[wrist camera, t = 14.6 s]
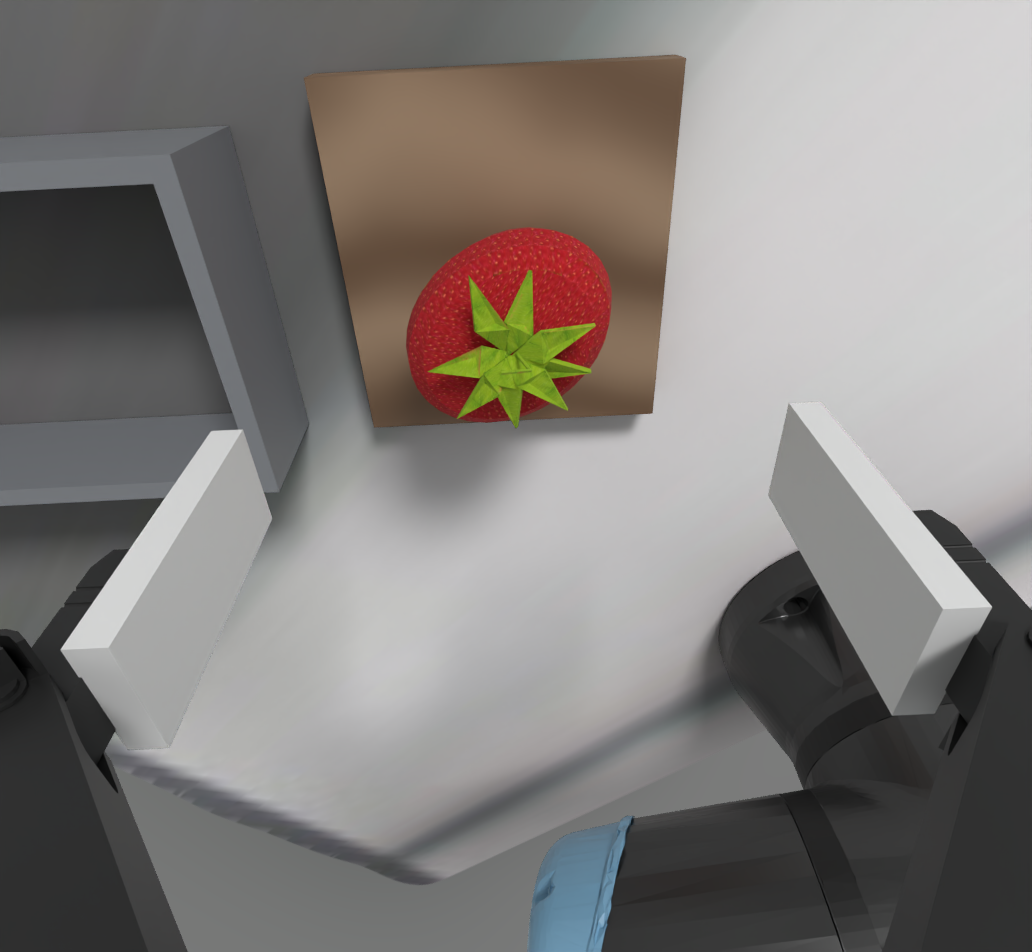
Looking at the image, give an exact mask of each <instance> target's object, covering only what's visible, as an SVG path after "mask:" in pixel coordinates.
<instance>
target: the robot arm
mask: <svg viewBox="0 0 1032 952" xmlns="http://www.w3.org/2000/svg"><path fill="white" fill-rule="evenodd" d="M768 496H769V497H770V499H771V501H772V503H773V505H774V506H775V508H776V510H777V512H778V513H779V515H780V517H781V519H782V521H783V522H784V524H785V526H786V528H787V530H788V531H789V533H790V535H791V537H792V538H793V540H794V542H795V544H796V546H797V547H798V549H799V551H798V552H796V553H793V554H791V555H789V556H787V557H785V558H784V559H782V560H780V561H778V562H777V563H775V564H773V565H772V566H770V567H769V568H767V569H766V570H764V571H763V572H762V573H760V574H759V575H758V576H757V577H755V578H754V579H753V580H752V581H751V582H750V583H748V584H747V585H746V586H745V587H744V588H743V589H742V591H741V592H740V593H739V594H738V595H737V596H736V598H735V599H734V600H733V602H732V603H731V605H730V606H729V608H728V610H727V611H726V613H725V616H724V618H723V621H722V623H721V627H720V632H719V647H720V651H721V654H722V657H723V660H724V663H725V666H726V669H727V672H728V675H729V677H730V680H731V682H732V684H733V686H734V688H735V689H736V691H737V693H738V694H739V695H740V696H741V698H742V699H743V700H744V701H745V703H746V704H747V705H748V706H749V708H750V709H751V710H752V711H753V713H754V714H755V715H756V716H757V718H758V719H759V720H760V721H761V723H762V724H763V725H764V726H765V728H766V729H767V730H768V731H769V733H770V734H771V735H772V736H773V738H774V739H775V740H776V741H777V742H778V744H779V745H780V746H781V748H782V749H783V750H784V751H785V753H786V754H787V755H788V756H789V758H790V759H791V761H792V762H793V764H794V767H795V769H796V771H797V774H798V777H799V779H800V782H801V784H802V787H803V789H804V790H800V791H794V792H789V793H783V794H775V795H768V796H763V797H757V798H751V799H745V800H739V801H734V802H728V803H722V804H716V805H710V806H704V807H699V808H693V809H687V810H681V811H675V812H669V813H663V814H658V815H652V816H646V817H640V818H634V816H626V817H624V818H622V820H621V821H620V822H617V823H612V824H608V825H603V826H599V827H595V828H590V829H586V830H581V831H577V832H573V833H570V834H567V835H565V836H563V837H562V838H560V839H559V840H558V841H557V842H556V843H555V844H554V845H553V846H552V847H551V848H550V850H549V851H548V852H547V854H546V856H545V858H544V860H543V863H542V864H541V867H540V870H539V873H538V876H537V881H536V884H535V889H534V894H533V900H532V908H531V915H530V923H529V934H528V947H527V952H1032V610H1031V609H1030V608H1029V607H1028V606H1027V605H1026V604H1025V602H1024V601H1023V600H1022V599H1021V598H1020V597H1019V596H1018V595H1017V593H1016V592H1015V591H1014V590H1013V589H1012V588H1011V587H1010V586H1009V585H1008V583H1007V582H1006V581H1005V580H1004V579H1003V578H1002V577H1001V576H1000V575H999V573H998V572H997V571H996V570H995V569H994V568H993V567H992V566H991V564H990V563H986V561H985V560H986V559H985V558H984V557H983V556H982V554H981V553H980V552H979V551H978V550H977V549H976V548H973V547H972V543H971V542H970V541H969V540H968V539H967V538H966V537H965V535H964V534H963V533H962V532H961V531H960V530H959V529H958V528H957V526H956V525H954V524H952V523H951V522H949V521H948V520H946V519H945V518H943V517H941V516H940V515H938V514H937V513H935V512H934V511H932V510H920V511H912V510H911V509H910V508H909V507H908V505H907V504H906V503H905V502H904V501H903V499H902V498H901V497H900V496H899V495H898V493H897V492H896V491H895V490H894V489H893V487H892V486H891V485H890V484H889V483H888V481H887V480H886V479H885V478H884V477H883V475H882V474H881V473H880V472H879V471H878V469H877V468H876V467H875V466H874V465H873V463H872V462H871V461H870V460H869V459H868V457H867V456H866V455H865V454H864V453H863V451H862V450H861V449H860V448H859V447H858V445H857V444H856V443H855V442H854V441H853V439H852V438H851V437H850V436H849V435H848V433H847V432H846V431H845V430H844V429H843V427H842V426H841V425H840V424H839V423H838V421H837V420H836V419H835V418H834V417H833V415H832V414H831V413H830V412H829V411H828V409H827V408H826V407H825V406H824V405H823V403H822V402H804V403H789V405H788V410H787V414H786V419H785V423H784V427H783V432H782V436H781V441H780V445H779V450H778V454H777V459H776V463H775V467H774V472H773V476H772V481H771V485H770V490H769V494H768ZM271 521H272V516H271V513H270V510H269V507H268V504H267V501H266V498H265V495H264V492H263V489H262V486H261V483H260V480H259V477H258V474H257V471H256V468H255V465H254V462H253V459H252V456H251V453H250V450H249V447H248V443H247V440H246V437H245V434H244V431H243V430H222V431H211V432H210V433H209V435H208V436H207V438H206V439H205V441H204V442H203V444H202V445H201V447H200V448H199V449H198V451H197V452H196V454H195V455H194V457H193V458H192V460H191V461H190V462H189V464H188V465H187V467H186V468H185V470H184V471H183V473H182V474H181V476H180V477H179V478H178V480H177V481H176V483H175V484H174V486H173V487H172V489H171V490H170V491H169V493H168V494H167V496H166V497H165V499H164V500H163V502H162V503H161V505H160V506H159V507H158V509H157V510H156V512H155V513H154V515H153V516H152V518H151V519H150V521H149V522H148V523H147V525H146V526H145V528H144V529H143V531H142V532H141V534H140V535H139V536H138V538H137V539H136V541H135V542H134V544H133V545H132V547H131V548H130V549H124V550H113V551H111V552H110V553H109V554H107V555H106V556H105V557H104V558H102V559H101V560H100V561H99V562H97V563H96V564H95V565H93V566H92V567H91V568H90V569H89V571H88V572H87V573H86V575H85V576H84V577H83V579H82V580H81V581H80V583H79V584H78V585H77V587H76V591H73V592H72V594H71V595H70V596H69V598H68V599H67V600H66V602H65V603H64V604H65V606H64V607H62V608H61V609H60V610H59V611H58V613H57V614H56V615H55V617H54V618H53V619H52V621H51V622H50V623H49V625H48V626H47V628H46V629H45V630H44V632H43V633H42V634H41V636H40V637H39V638H38V640H37V641H36V642H35V644H34V645H33V647H32V648H31V647H30V646H29V644H28V643H27V641H26V640H25V639H24V637H23V636H22V635H21V634H20V633H19V632H18V631H13V630H8V629H1V630H0V952H187V949H186V946H185V944H184V941H183V939H182V936H181V934H180V931H179V929H178V926H177V924H176V921H175V919H174V916H173V914H172V911H171V909H170V906H169V904H168V901H167V899H166V896H165V894H164V891H163V889H162V886H161V884H160V881H159V879H158V876H157V874H156V871H155V869H154V866H153V864H152V862H151V859H150V856H149V854H148V851H147V849H146V847H145V844H144V842H143V839H142V837H141V834H140V832H139V829H138V827H137V824H136V822H135V819H134V817H133V814H132V812H131V809H130V807H129V804H128V802H127V799H126V797H125V794H124V792H123V789H122V787H121V784H120V782H119V779H118V777H117V774H116V772H115V769H114V767H113V764H112V762H111V760H110V758H109V757H108V756H107V754H106V753H105V749H106V747H107V745H108V743H109V741H110V739H111V738H112V736H113V734H114V732H116V734H117V735H118V737H119V738H120V739H121V741H122V742H123V744H124V745H125V747H126V748H127V750H141V749H163V748H170V746H171V744H172V741H173V739H174V737H175V735H176V733H177V730H178V728H179V726H180V724H181V721H182V719H183V717H184V715H185V712H186V710H187V708H188V706H189V704H190V701H191V699H192V697H193V695H194V692H195V690H196V688H197V686H198V683H199V681H200V679H201V677H202V675H203V672H204V670H205V668H206V666H207V663H208V661H209V659H210V657H211V654H212V652H213V650H214V648H215V646H216V643H217V641H218V639H219V637H220V634H221V632H222V630H223V628H224V625H225V623H226V621H227V619H228V617H229V614H230V612H231V610H232V608H233V605H234V603H235V601H236V599H237V596H238V594H239V592H240V590H241V588H242V585H243V583H244V581H245V579H246V576H247V574H248V572H249V570H250V567H251V565H252V563H253V561H254V559H255V556H256V554H257V552H258V550H259V547H260V545H261V543H262V541H263V538H264V536H265V534H266V532H267V529H268V527H269V525H270V523H271Z"/></svg>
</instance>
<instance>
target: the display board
mask: <svg viewBox="0 0 1032 952" xmlns="http://www.w3.org/2000/svg"><path fill="white" fill-rule="evenodd" d="M685 62H686V58H684V57H681V56H678V55H664V56H645V57H626V58H606V59H587V60H568V61H549V62H529V63H510V64H491V65H471V66H452V67H433V68H414V69H394V70H375V71H356V72H337V73H317V74H312V75H309V76H307V77H305V78H304V81H305V86H306V91H307V96H308V101H309V106H310V111H311V116H312V121H313V126H314V131H315V136H316V141H317V146H318V151H319V156H320V161H321V166H322V171H323V176H324V181H325V186H326V191H327V196H328V201H329V206H330V211H331V216H332V221H333V226H334V231H335V236H336V241H337V246H338V251H339V256H340V260H341V265H342V270H343V275H344V280H345V285H346V290H347V295H348V300H349V305H350V310H351V315H352V320H353V325H354V330H355V335H356V340H357V345H358V350H359V355H360V360H361V365H362V370H363V375H364V380H365V385H366V390H367V395H368V400H369V405H370V410H371V415H372V420H373V425H374V427H393V426H413V425H433V424H453V423H473V422H471V421H466V420H462V419H457V418H454V417H452V416H449V415H447V414H445V413H443V412H441V411H439V410H438V409H437V408H435V407H434V406H433V405H431V404H430V403H429V402H428V401H427V400H426V399H425V398H424V397H423V395H422V394H421V393H420V391H419V390H418V389H417V386H416V384H415V382H414V380H413V378H412V375H411V371H410V366H409V361H408V356H407V350H406V336H407V327H408V323H409V319H410V315H411V312H412V309H413V307H414V305H415V303H416V301H417V299H418V297H419V295H420V293H421V291H422V290H423V289H424V287H425V286H426V285H427V283H428V282H429V280H430V279H431V278H432V276H433V275H434V274H435V273H436V272H437V271H438V270H439V269H440V268H441V267H442V266H443V265H444V264H445V263H446V262H447V261H449V260H450V259H451V258H452V257H454V256H455V255H457V254H458V253H460V252H461V251H463V250H464V249H465V248H467V247H468V246H470V245H472V244H474V243H476V242H478V241H480V240H482V239H484V238H486V237H488V236H490V235H492V234H496V233H499V232H502V231H506V230H509V229H516V228H525V227H531V228H542V229H549V230H555V231H558V232H561V233H564V234H567V235H570V236H573V237H574V238H576V239H577V240H579V241H581V242H582V243H584V244H585V245H587V246H588V247H589V248H590V249H591V250H592V251H593V252H594V253H595V254H596V255H597V256H598V257H599V258H600V260H601V262H602V264H603V266H604V268H605V270H606V271H607V273H608V276H609V281H610V286H611V290H612V302H611V315H610V322H609V327H608V331H607V335H606V339H605V342H604V344H603V346H602V348H601V350H600V353H599V355H598V357H597V359H596V360H595V361H594V363H593V364H592V366H591V367H590V369H591V373H590V374H585V375H584V376H583V377H582V378H581V379H580V380H579V381H578V382H577V384H576V385H575V386H574V387H573V388H571V389H570V390H569V391H568V392H566V393H565V394H564V395H562V396H561V397H562V399H563V401H564V402H565V404H566V406H567V408H568V411H567V410H565V409H563V408H561V407H559V406H556V405H554V404H552V403H550V404H549V405H547V406H545V407H543V408H542V409H540V410H537V411H535V412H532V413H530V414H527V415H525V416H522V417H519V420H532V419H552V418H572V417H592V416H611V415H631V414H651V413H652V412H653V401H654V391H655V380H656V370H657V359H658V348H659V338H660V327H661V317H662V306H663V295H664V285H665V274H666V264H667V253H668V242H669V232H670V221H671V211H672V200H673V190H674V179H675V168H676V158H677V147H678V137H679V126H680V115H681V105H682V94H683V84H684V73H685ZM506 421H511V419H510V420H506Z"/></svg>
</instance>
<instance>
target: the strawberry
mask: <svg viewBox="0 0 1032 952" xmlns="http://www.w3.org/2000/svg"><path fill="white" fill-rule="evenodd" d="M611 302H612V290H611V286H610V281H609V276H608V273H607V271H606V270H605V268H604V266H603V264H602V262H601V260H600V258H599V257H598V256H597V255H596V254H595V253H594V252H593V251H592V250H591V249H590V248H589V247H588V246H587V245H585V244H584V243H582V242H581V241H579V240H577V239H576V238H574V237H573V236H570V235H567V234H564V233H561V232H558V231H555V230H549V229H542V228H531V227H525V228H516V229H509V230H506V231H502V232H499V233H496V234H492V235H490V236H488V237H486V238H484V239H482V240H480V241H478V242H476V243H474V244H472V245H470V246H468V247H467V248H465V249H464V250H463V251H461V252H460V253H458V254H457V255H455V256H454V257H452V258H451V259H450V260H449V261H447V262H446V263H445V264H444V265H443V266H442V267H441V268H440V269H439V270H438V271H437V272H436V273H435V274H434V275H433V276H432V278H431V279H430V280H429V282H428V283H427V285H426V286H425V287H424V289H423V290H422V291H421V293H420V295H419V297H418V299H417V301H416V303H415V305H414V307H413V309H412V312H411V315H410V319H409V323H408V327H407V336H406V350H407V356H408V361H409V366H410V371H411V375H412V378H413V380H414V382H415V384H416V386H417V389H418V390H419V391H420V393H421V394H422V395H423V397H424V398H425V399H426V400H427V401H428V402H429V403H430V404H431V405H433V406H434V407H435V408H437V409H438V410H439V411H441V412H443V413H445V414H447V415H449V416H452V417H454V418H457V419H462V420H466V421H471V422H485V423H488V422H498V421H506V420H510V419H511V421H512V423H513V425H514V426H515V428H517V427H518V424H519V417H522V416H525V415H527V414H530V413H532V412H535V411H537V410H540V409H542V408H543V407H545V406H547V405H549V404H550V403H552V404H554V405H556V406H559V407H561V408H563V409H565V410H567V411H568V408H567V406H566V404H565V402H564V401H563V399H562V397H561V396H562V395H564V394H565V393H566V392H568V391H569V390H570V389H571V388H573V387H574V386H575V385H576V384H577V382H578V381H579V380H580V379H581V378H582V377H583V376H584V375H585V374H590V373H591V369H590V367H591V366H592V364H593V363H594V361H595V360H596V359H597V357H598V355H599V353H600V350H601V348H602V346H603V344H604V342H605V339H606V335H607V331H608V327H609V322H610V315H611Z"/></svg>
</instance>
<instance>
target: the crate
mask: <svg viewBox="0 0 1032 952" xmlns="http://www.w3.org/2000/svg"><path fill="white" fill-rule="evenodd" d="M139 184H154V187H155V190H156V193H157V196H158V199H159V202H160V204H161V207H162V210H163V213H164V216H165V219H166V222H167V225H168V228H169V230H170V233H171V236H172V239H173V242H174V245H175V248H176V251H177V254H178V256H179V259H180V262H181V265H182V268H183V271H184V274H185V277H186V280H187V282H188V285H189V288H190V291H191V294H192V297H193V300H194V303H195V306H196V308H197V311H198V314H199V317H200V320H201V323H202V326H203V329H204V332H205V334H206V337H207V340H208V343H209V346H210V349H211V352H212V355H213V358H214V360H215V363H216V366H217V369H218V372H219V375H220V378H221V381H222V384H223V386H224V389H225V392H226V395H227V398H228V401H229V404H230V407H231V410H232V412H233V413H223V414H203V415H184V416H164V417H144V418H124V419H104V420H85V421H65V422H45V423H25V424H6V425H0V506H11V505H31V504H51V503H71V502H91V501H111V500H131V499H151V498H165V497H166V496H167V494H168V493H169V491H170V490H171V489H172V487H173V486H174V484H175V483H176V481H177V480H178V478H179V477H180V476H181V474H182V473H183V471H184V470H185V468H186V467H187V465H188V464H189V462H190V461H191V460H192V458H193V457H194V455H195V454H196V452H197V451H198V449H199V448H200V447H201V445H202V444H203V442H204V441H205V439H206V438H207V436H208V435H209V433H210V432H211V431H222V430H243V431H244V434H245V437H246V440H247V443H248V447H249V450H250V453H251V456H252V459H253V462H254V465H255V468H256V471H257V474H258V477H259V480H260V483H261V486H262V489H263V492H264V493H270V492H280V489H281V487H282V485H283V482H284V480H285V478H286V475H287V473H288V471H289V468H290V466H291V464H292V462H293V459H294V457H295V455H296V452H297V450H298V448H299V445H300V443H301V441H302V438H303V436H304V434H305V432H306V429H307V427H308V425H309V422H308V418H307V414H306V411H305V407H304V403H303V399H302V396H301V392H300V388H299V385H298V381H297V377H296V373H295V370H294V366H293V362H292V359H291V355H290V351H289V347H288V344H287V340H286V336H285V332H284V329H283V325H282V321H281V318H280V314H279V310H278V306H277V303H276V299H275V295H274V292H273V288H272V284H271V280H270V277H269V273H268V269H267V266H266V262H265V258H264V254H263V251H262V247H261V243H260V240H259V236H258V232H257V228H256V225H255V221H254V217H253V214H252V210H251V206H250V202H249V199H248V195H247V191H246V187H245V184H244V180H243V176H242V173H241V169H240V165H239V161H238V158H237V154H236V150H235V147H234V143H233V139H232V135H231V132H230V128H229V126H213V127H194V128H174V129H155V130H136V131H116V132H97V133H78V134H58V135H39V136H19V137H0V192H3V191H23V190H42V189H62V188H81V187H101V186H120V185H139Z"/></svg>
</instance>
